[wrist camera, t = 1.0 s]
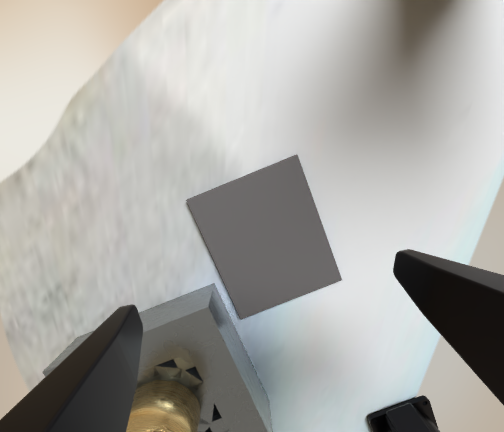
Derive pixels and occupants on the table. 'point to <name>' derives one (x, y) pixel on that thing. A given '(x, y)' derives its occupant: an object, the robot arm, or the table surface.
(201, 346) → the housing
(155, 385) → the end cover
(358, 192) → the table surface
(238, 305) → the rubber mat
